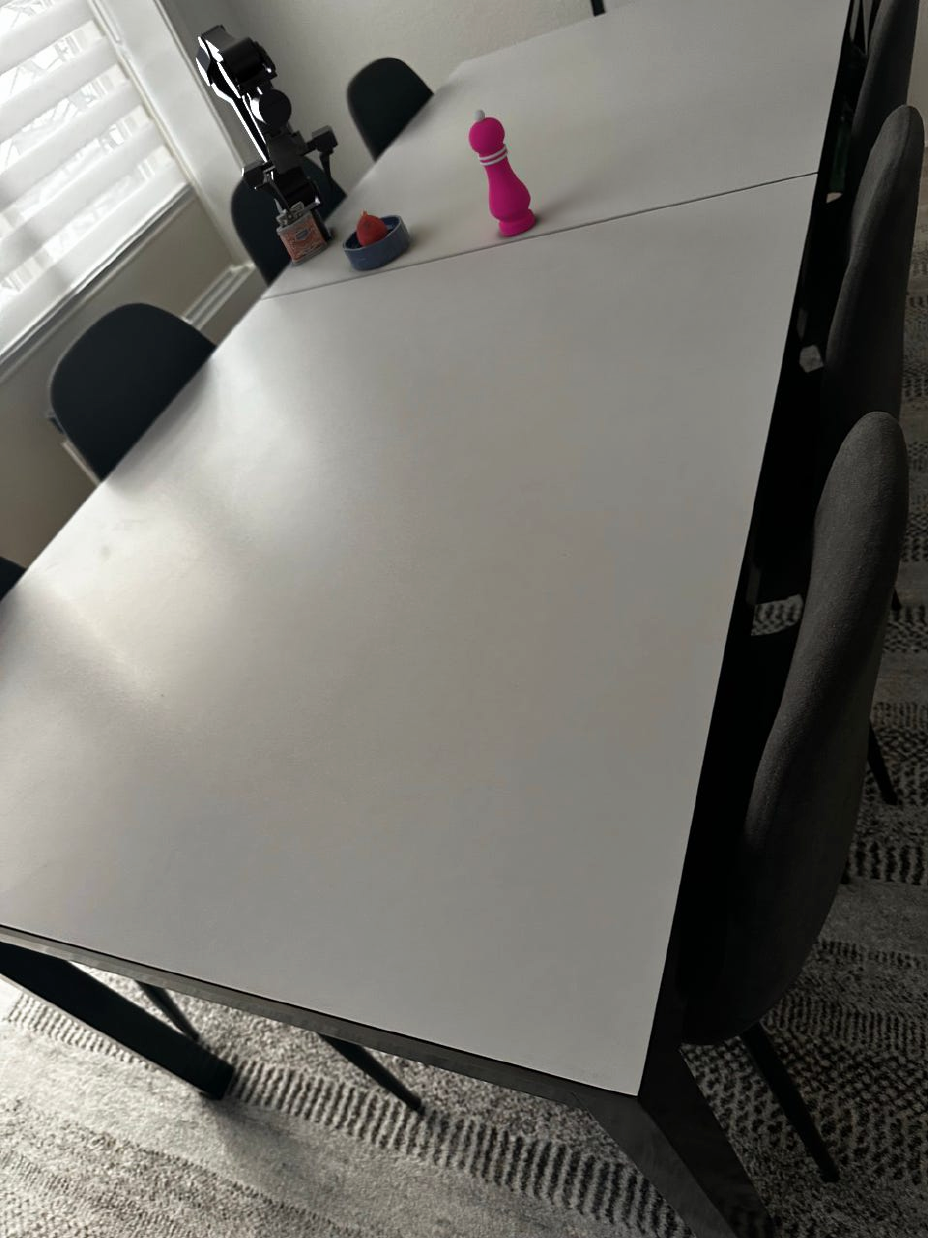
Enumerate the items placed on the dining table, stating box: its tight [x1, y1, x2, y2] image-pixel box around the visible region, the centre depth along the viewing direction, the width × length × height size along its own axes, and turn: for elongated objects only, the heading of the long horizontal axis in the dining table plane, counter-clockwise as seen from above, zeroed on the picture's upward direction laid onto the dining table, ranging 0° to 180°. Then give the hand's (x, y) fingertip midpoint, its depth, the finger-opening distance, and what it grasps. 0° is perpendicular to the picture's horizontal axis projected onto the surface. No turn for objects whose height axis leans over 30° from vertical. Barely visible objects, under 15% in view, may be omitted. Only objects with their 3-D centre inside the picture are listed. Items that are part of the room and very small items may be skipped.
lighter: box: [276, 202, 328, 266], centre depth 190 cm, size 8×3×10 cm, turn 118°
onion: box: [356, 210, 388, 247], centre depth 175 cm, size 6×6×8 cm
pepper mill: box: [468, 109, 536, 237], centre depth 156 cm, size 7×7×20 cm
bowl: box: [341, 214, 412, 271], centre depth 177 cm, size 12×12×4 cm
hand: (311, 201), depth 177 cm, fingers open, 9 cm apart
